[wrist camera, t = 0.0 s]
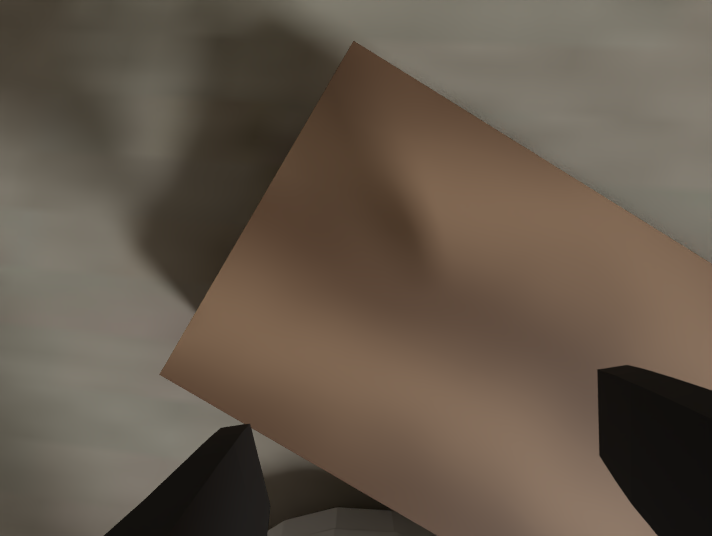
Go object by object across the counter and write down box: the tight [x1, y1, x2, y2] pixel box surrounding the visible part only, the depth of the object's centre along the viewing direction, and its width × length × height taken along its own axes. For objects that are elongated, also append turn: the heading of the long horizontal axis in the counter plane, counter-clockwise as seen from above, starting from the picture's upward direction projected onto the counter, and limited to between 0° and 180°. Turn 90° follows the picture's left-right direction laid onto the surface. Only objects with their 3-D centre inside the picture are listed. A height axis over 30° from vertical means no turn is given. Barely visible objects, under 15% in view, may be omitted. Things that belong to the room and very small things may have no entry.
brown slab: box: [159, 41, 712, 536], centre depth 16 cm, size 12×26×6 cm, turn 59°
